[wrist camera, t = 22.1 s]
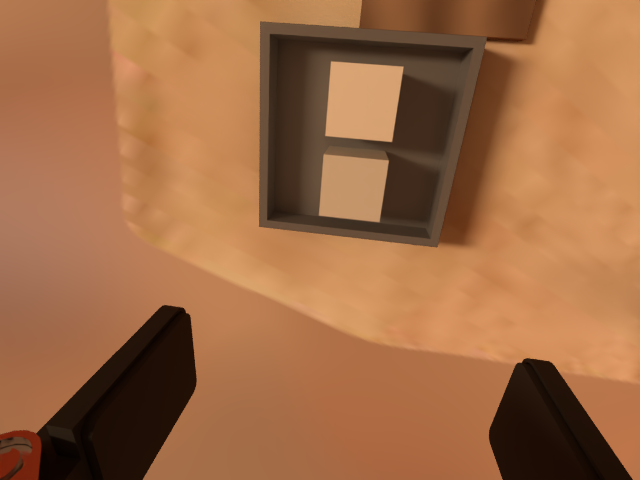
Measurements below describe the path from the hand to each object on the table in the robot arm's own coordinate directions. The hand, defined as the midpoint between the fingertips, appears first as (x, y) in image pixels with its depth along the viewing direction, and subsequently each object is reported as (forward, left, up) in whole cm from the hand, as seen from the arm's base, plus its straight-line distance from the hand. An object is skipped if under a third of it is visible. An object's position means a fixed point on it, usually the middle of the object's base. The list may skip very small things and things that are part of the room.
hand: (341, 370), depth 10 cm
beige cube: (0, 0, -27) cm, 27 cm away
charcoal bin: (0, -3, -28) cm, 28 cm away
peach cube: (0, -7, -27) cm, 28 cm away
